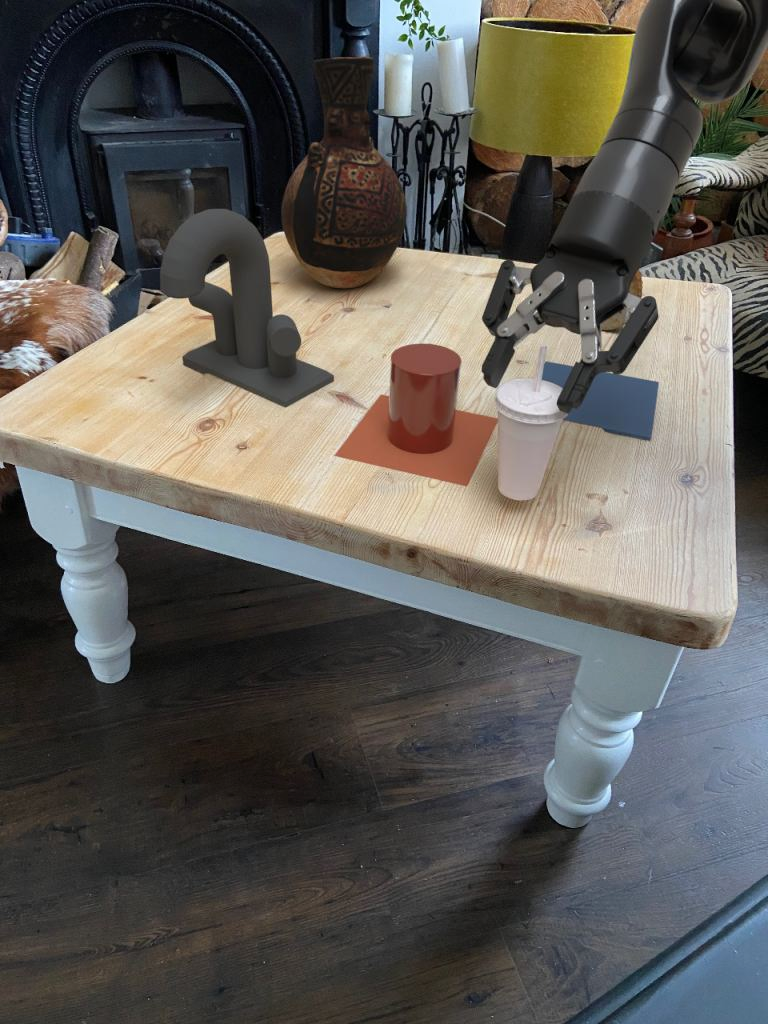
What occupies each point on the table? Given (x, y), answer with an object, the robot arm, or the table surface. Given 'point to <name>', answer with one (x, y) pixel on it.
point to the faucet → (238, 309)
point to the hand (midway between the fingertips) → (525, 395)
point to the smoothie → (526, 431)
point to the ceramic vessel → (344, 186)
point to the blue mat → (611, 402)
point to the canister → (423, 397)
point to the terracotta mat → (444, 465)
